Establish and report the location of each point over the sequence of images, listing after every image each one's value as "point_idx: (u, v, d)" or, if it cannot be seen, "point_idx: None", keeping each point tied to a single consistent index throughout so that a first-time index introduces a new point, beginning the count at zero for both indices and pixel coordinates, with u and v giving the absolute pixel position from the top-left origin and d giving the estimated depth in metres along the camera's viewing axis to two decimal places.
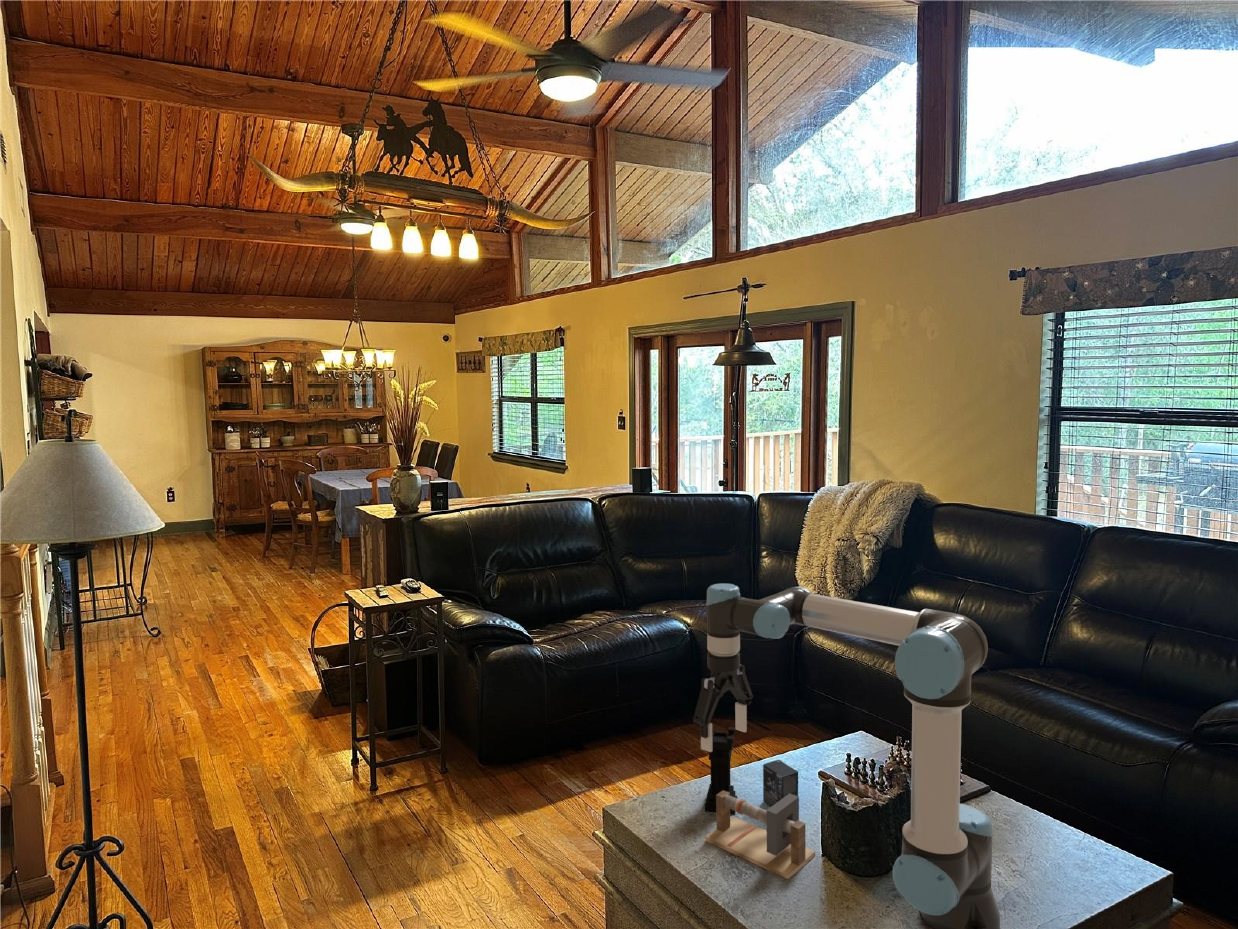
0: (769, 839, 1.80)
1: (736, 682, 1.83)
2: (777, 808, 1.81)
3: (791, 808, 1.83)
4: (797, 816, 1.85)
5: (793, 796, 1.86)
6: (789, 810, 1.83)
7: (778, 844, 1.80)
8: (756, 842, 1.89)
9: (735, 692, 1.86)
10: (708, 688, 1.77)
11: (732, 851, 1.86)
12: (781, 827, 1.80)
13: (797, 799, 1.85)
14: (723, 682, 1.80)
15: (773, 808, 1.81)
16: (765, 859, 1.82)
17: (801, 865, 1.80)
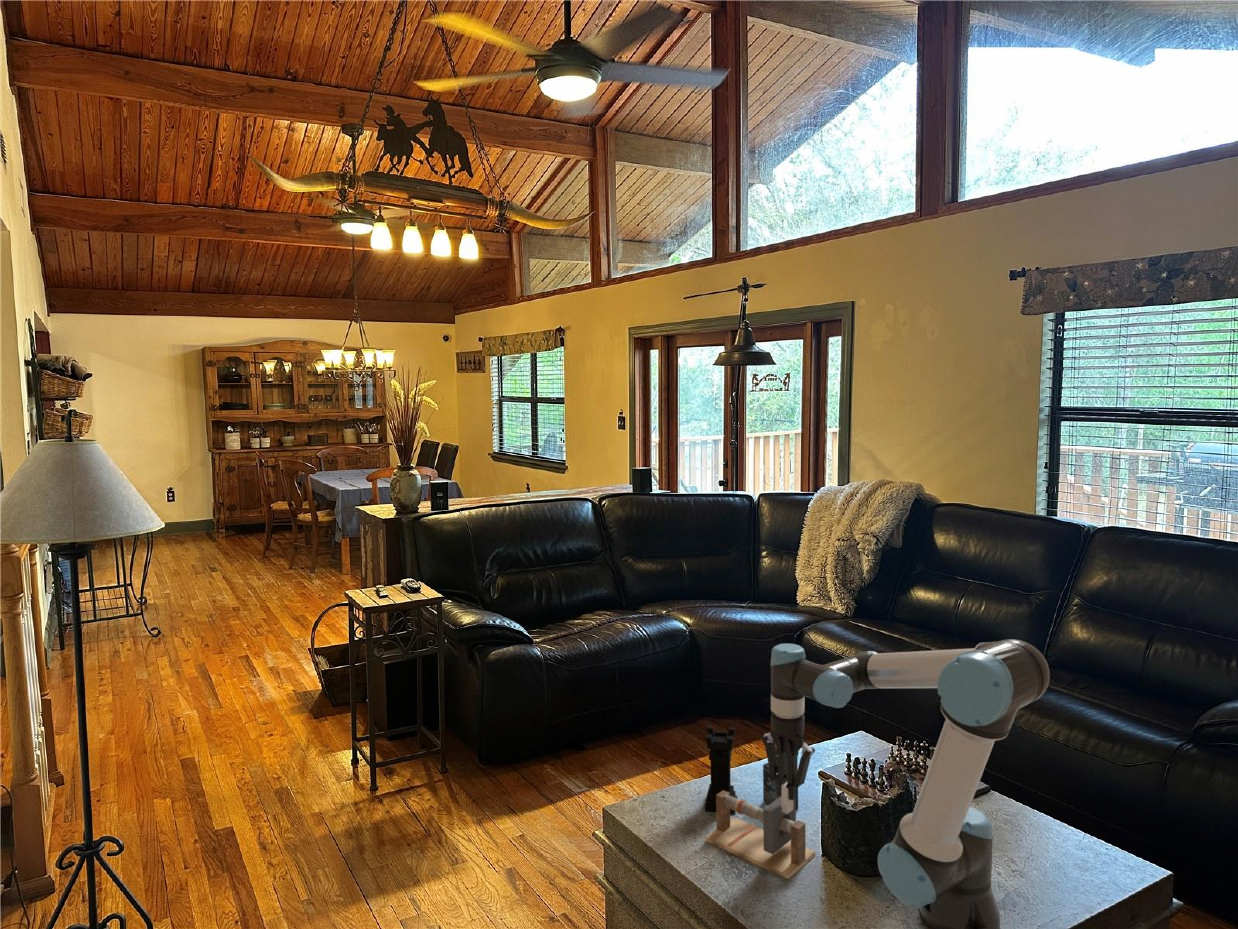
0: (766, 838, 1.81)
1: (789, 752, 1.78)
2: (773, 807, 1.81)
3: None
4: (794, 815, 1.86)
5: None
6: None
7: (774, 842, 1.80)
8: (756, 842, 1.89)
9: None
10: None
11: (732, 851, 1.86)
12: (778, 826, 1.81)
13: None
14: None
15: (770, 807, 1.81)
16: (765, 859, 1.82)
17: (801, 865, 1.80)
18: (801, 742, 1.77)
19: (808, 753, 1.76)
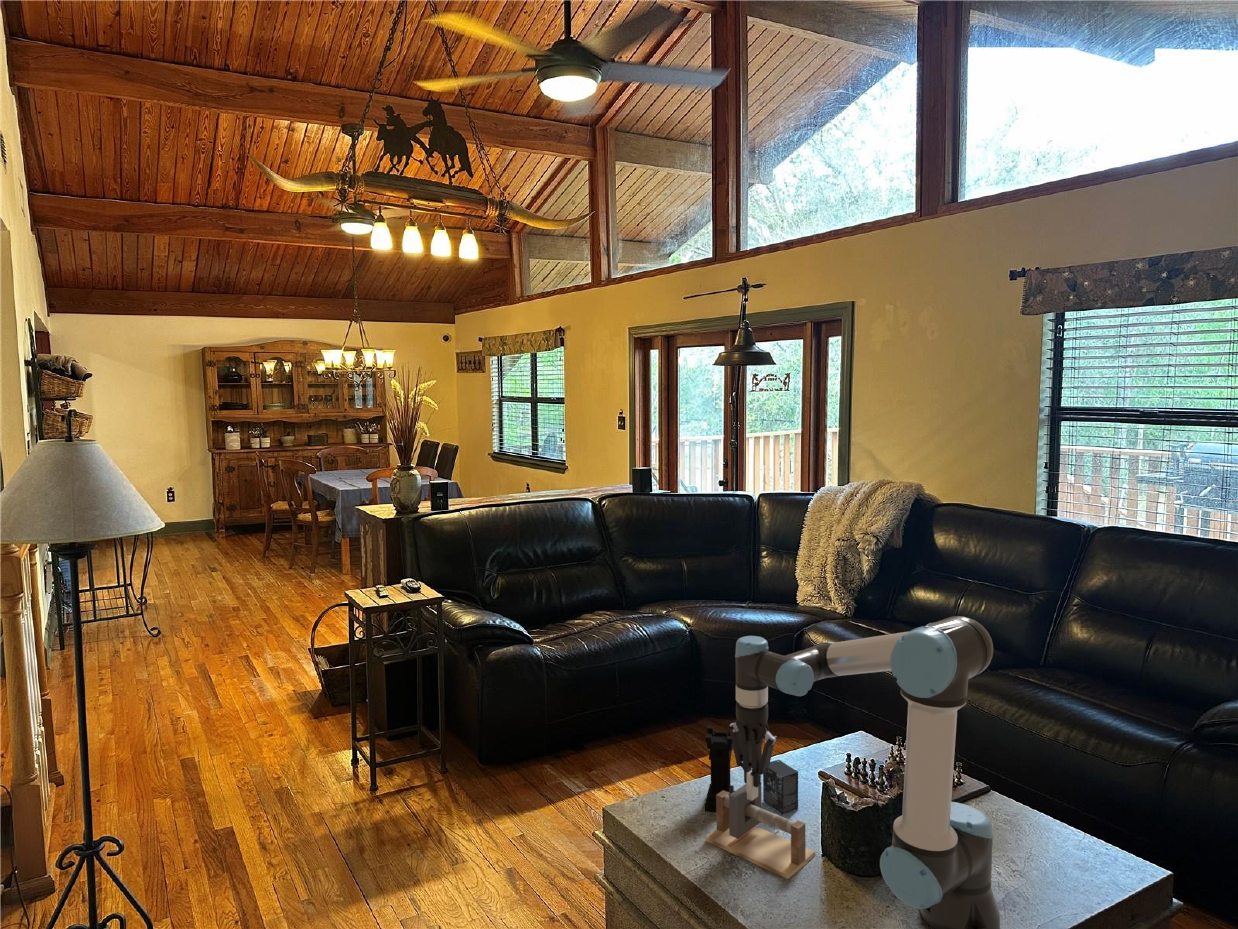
0: (731, 823, 1.87)
1: (753, 740, 1.85)
2: (739, 793, 1.88)
3: None
4: (759, 801, 1.93)
5: None
6: None
7: (740, 827, 1.87)
8: (756, 842, 1.89)
9: None
10: None
11: (732, 851, 1.86)
12: (743, 811, 1.87)
13: None
14: None
15: (735, 793, 1.88)
16: (765, 859, 1.82)
17: (801, 865, 1.80)
18: (764, 731, 1.84)
19: (771, 741, 1.82)
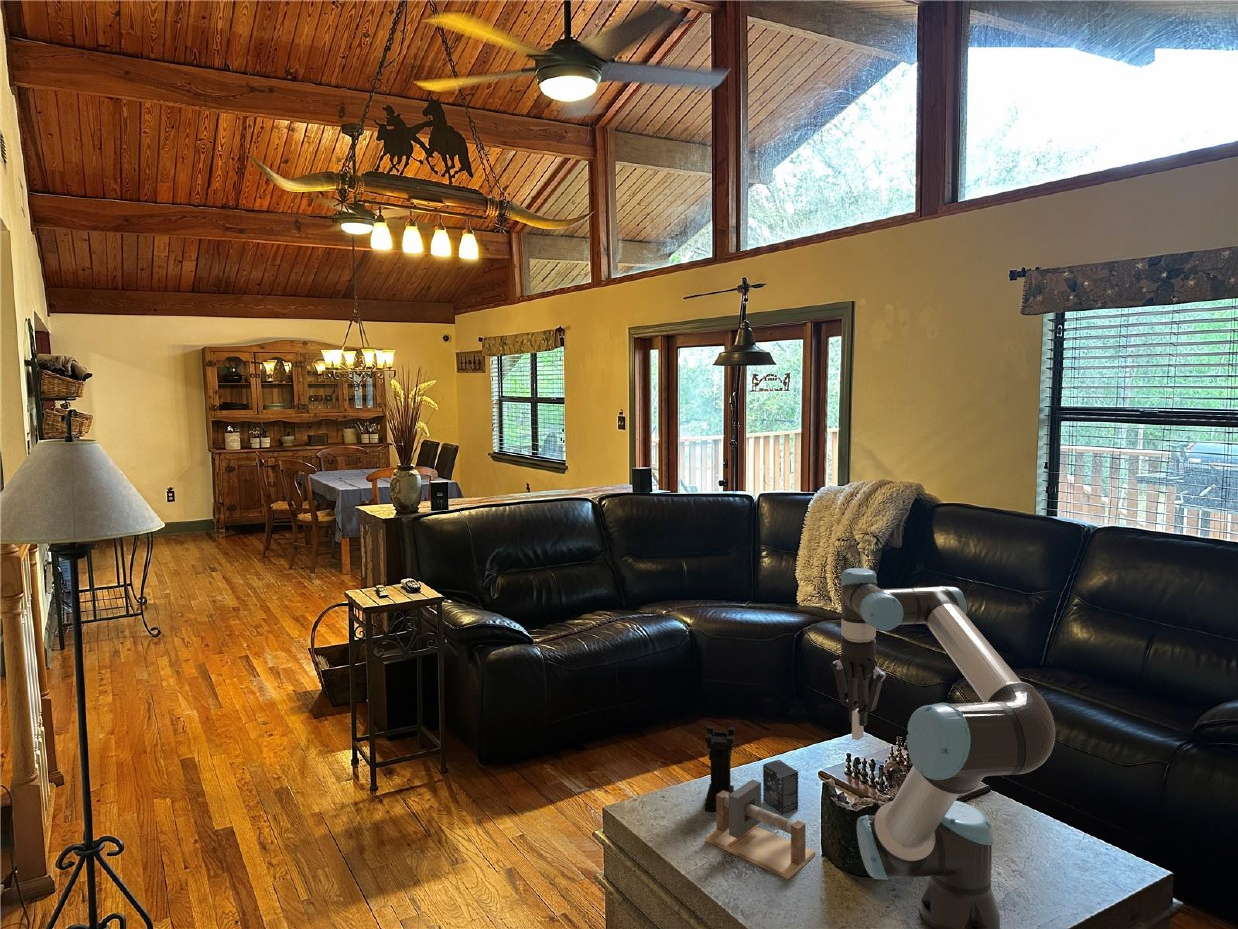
0: (731, 823, 1.87)
1: (860, 676, 1.77)
2: (739, 793, 1.88)
3: (753, 793, 1.90)
4: (759, 801, 1.93)
5: (755, 782, 1.93)
6: (751, 795, 1.90)
7: (739, 827, 1.87)
8: (756, 842, 1.89)
9: None
10: None
11: (732, 851, 1.86)
12: (743, 811, 1.87)
13: (759, 785, 1.92)
14: None
15: (735, 793, 1.88)
16: (765, 859, 1.82)
17: (801, 865, 1.80)
18: (873, 666, 1.75)
19: (881, 676, 1.74)
